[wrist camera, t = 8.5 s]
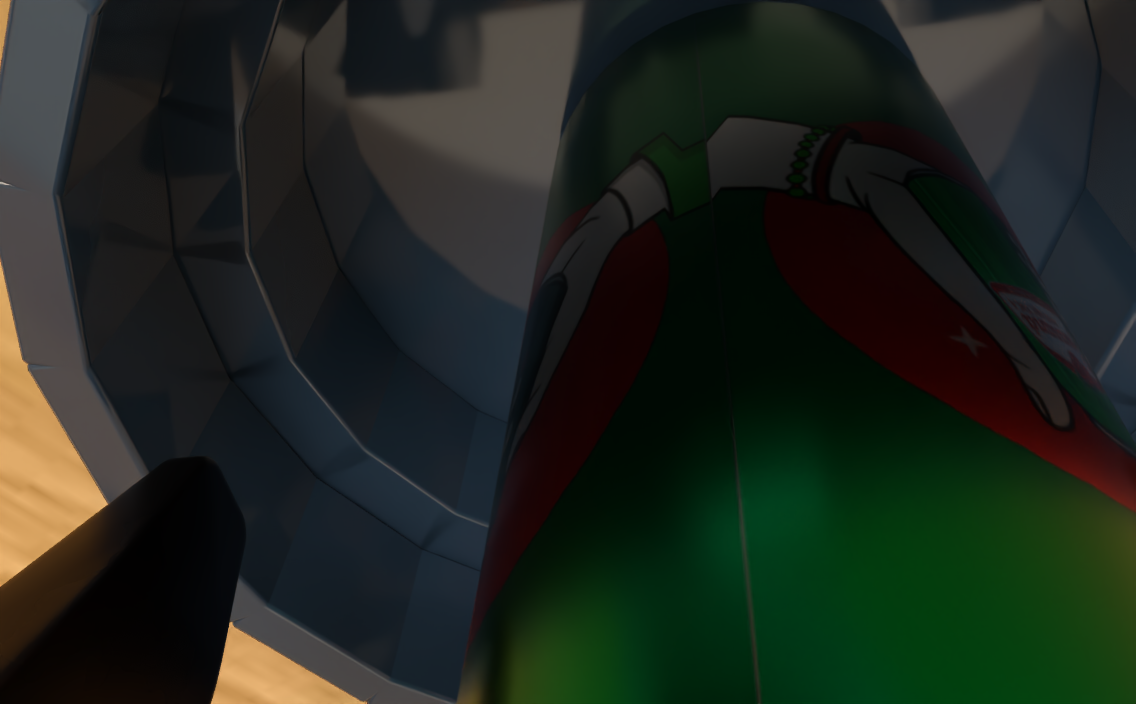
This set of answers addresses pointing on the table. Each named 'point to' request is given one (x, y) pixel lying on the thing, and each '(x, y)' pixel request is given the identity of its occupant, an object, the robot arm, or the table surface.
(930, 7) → the bowl
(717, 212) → the soda can
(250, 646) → the table surface
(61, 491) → the table surface
